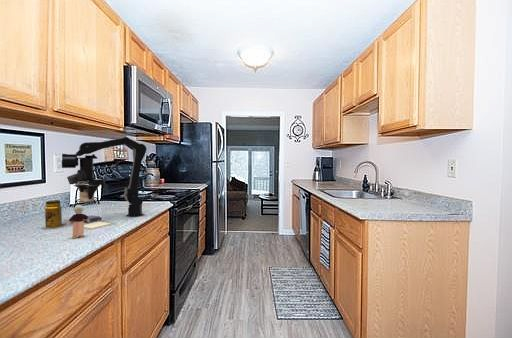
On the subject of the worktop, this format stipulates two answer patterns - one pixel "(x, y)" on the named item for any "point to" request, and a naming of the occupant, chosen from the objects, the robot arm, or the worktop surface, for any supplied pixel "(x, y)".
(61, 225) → the condiment
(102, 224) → the cream square plate
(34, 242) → the worktop surface
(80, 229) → the grandmother figurine
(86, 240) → the worktop surface
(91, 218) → the ink pad
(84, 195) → the stamp
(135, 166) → the robot arm
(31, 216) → the worktop surface
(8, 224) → the worktop surface
